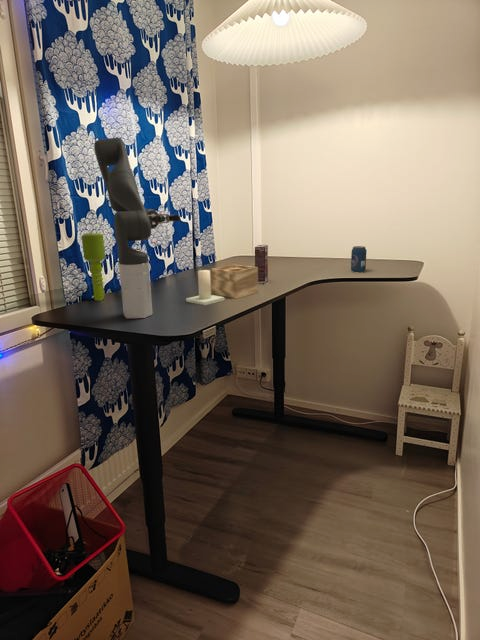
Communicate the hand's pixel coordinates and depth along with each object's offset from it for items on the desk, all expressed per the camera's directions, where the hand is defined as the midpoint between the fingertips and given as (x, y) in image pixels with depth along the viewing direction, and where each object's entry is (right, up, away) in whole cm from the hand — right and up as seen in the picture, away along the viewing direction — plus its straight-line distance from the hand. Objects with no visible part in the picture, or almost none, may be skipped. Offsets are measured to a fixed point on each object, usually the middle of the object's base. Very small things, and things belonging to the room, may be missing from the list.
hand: (170, 218), depth 167 cm
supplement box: (+35, -21, +31) cm, 52 cm away
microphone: (-28, -30, +6) cm, 41 cm away
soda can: (+83, -15, +50) cm, 98 cm away
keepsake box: (+24, -27, +10) cm, 37 cm away
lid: (+13, -31, -1) cm, 33 cm away
